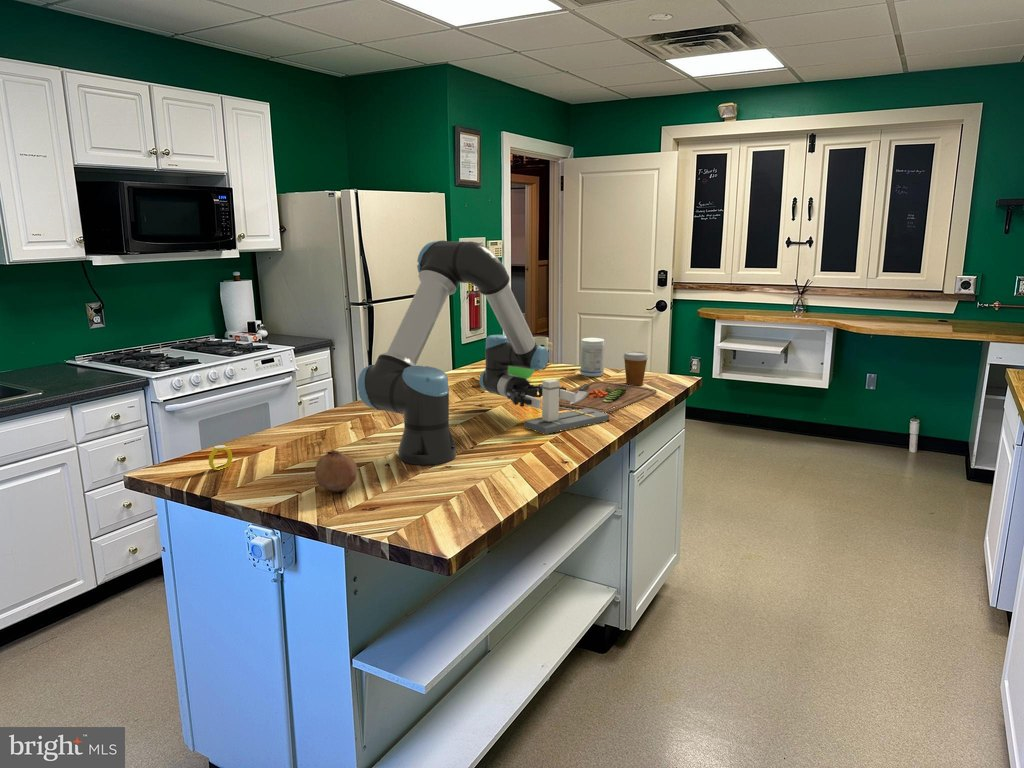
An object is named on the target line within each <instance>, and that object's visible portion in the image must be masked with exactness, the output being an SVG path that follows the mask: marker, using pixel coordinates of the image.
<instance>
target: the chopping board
mask: <svg viewBox="0 0 1024 768" xmlns="http://www.w3.org/2000/svg"><path fill="white" fill-rule="evenodd" d="M567 391H570V392H573V393H576V400H575V402H571V401H568V400H564V399H561V398H560V397H559V408H562V409H561V410H565V409H568V410H567V411H571V410H577V409H586V408H589V409H592V410H596V411H599V412H604V413H605V412H606V413H608V412H609V413H610V412H614V411H616V410H618V411H620V410H619V409H621V408H623V409H625V408H627V407H629V406H632V405H634V404H636V403H638V402H641V401H643V400H645V399H648V398H650V397H651V396H654V395H656V394H657V391H658V390H656V389H654V388H649V387H644V386H641V385H628V384H627V383H626V384H625V383H617V382H607V381H591V382H589V383H584V384H582V385H580V386H576V387H574V388H571V389H568V390H567ZM633 403H634V404H633ZM631 404H632V405H631ZM628 405H629V406H628ZM560 406H562V407H560ZM616 406H617V407H616ZM626 406H627V407H626ZM566 407H569V408H566ZM613 407H615V408H613ZM624 407H625V408H624ZM572 408H575V409H572ZM611 408H613V409H611ZM609 409H610V410H609ZM621 410H622V409H621ZM616 412H617V411H616ZM614 413H615V412H614ZM610 414H611V413H610Z"/></svg>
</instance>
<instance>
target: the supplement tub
mask: <svg viewBox="0 0 1024 768" xmlns="http://www.w3.org/2000/svg"><path fill="white" fill-rule="evenodd" d="M580 343H581V344H580V375H581V376H583V375H584V376H583V377H590V378H591V377H594V378H595V377H602V376H603V375H604V370H605V369H604V366H605V339H604V338H600V337H585V338H581V341H580Z"/></svg>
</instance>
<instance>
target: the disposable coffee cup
mask: <svg viewBox="0 0 1024 768" xmlns="http://www.w3.org/2000/svg"><path fill="white" fill-rule="evenodd" d="M622 356H623V359H624V369H625V380H626V381H625V383H626V385H628V384H629V385H633V386H643V384H644V379H645V374H646V367H647V361H648V359H649V356H648V353H647V352H644V351H635V350H633V351H631V350H630V351H625V352H624V354H623V355H622Z"/></svg>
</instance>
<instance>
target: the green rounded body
mask: <svg viewBox="0 0 1024 768" xmlns="http://www.w3.org/2000/svg"><path fill="white" fill-rule="evenodd" d="M535 371H536V369H533V370H532V369H527V368H520V367H513V366H508V374H510V375H514V376H517V377H521V378H524V379H526V380H528V379H529V378H531V377H532V376H533V375H534V373H535Z"/></svg>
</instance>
